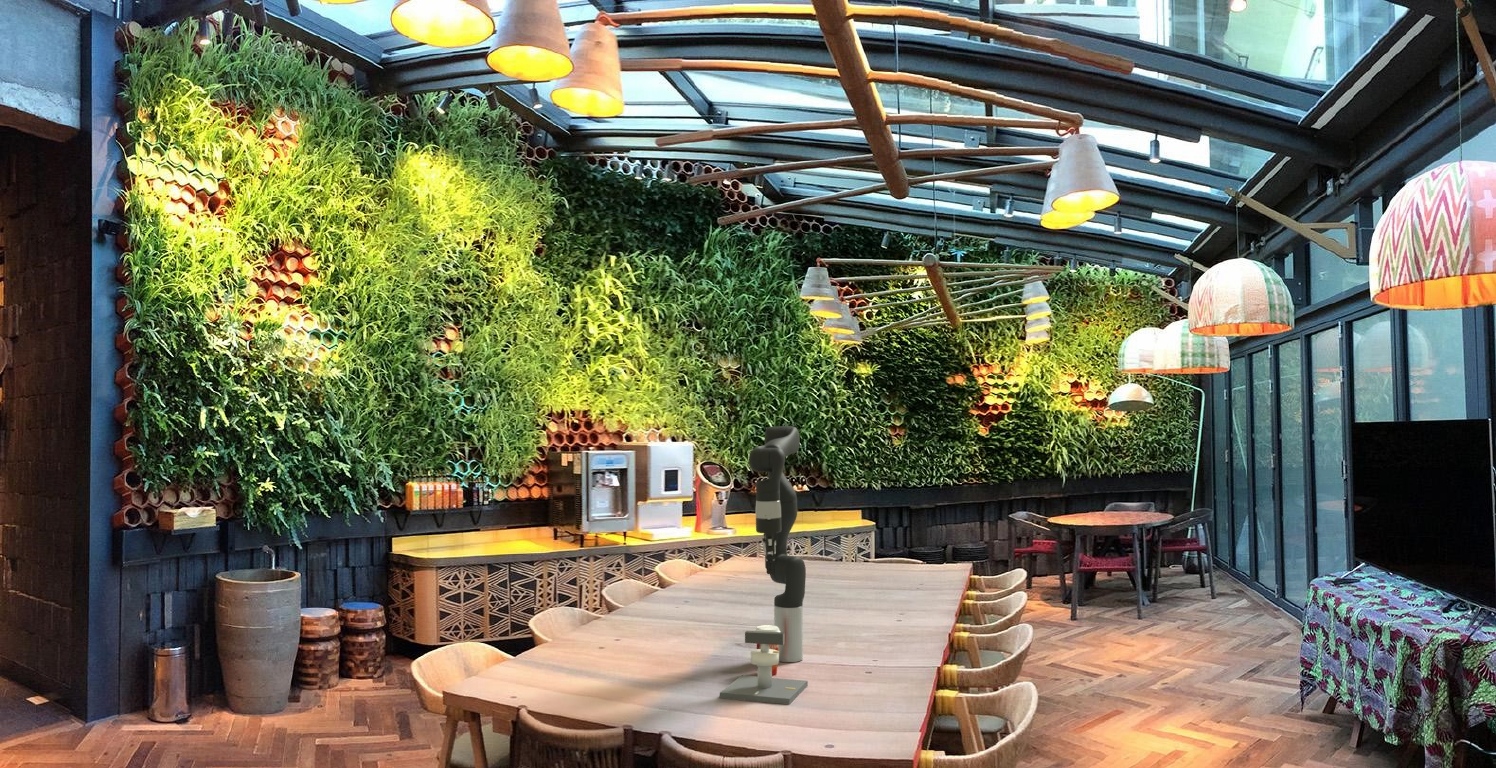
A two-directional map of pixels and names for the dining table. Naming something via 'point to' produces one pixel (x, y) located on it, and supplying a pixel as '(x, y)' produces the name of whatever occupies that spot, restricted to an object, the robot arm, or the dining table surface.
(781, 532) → the robot arm
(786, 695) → the post board
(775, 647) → the paper cup
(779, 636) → the coupling
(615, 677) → the dining table surface
